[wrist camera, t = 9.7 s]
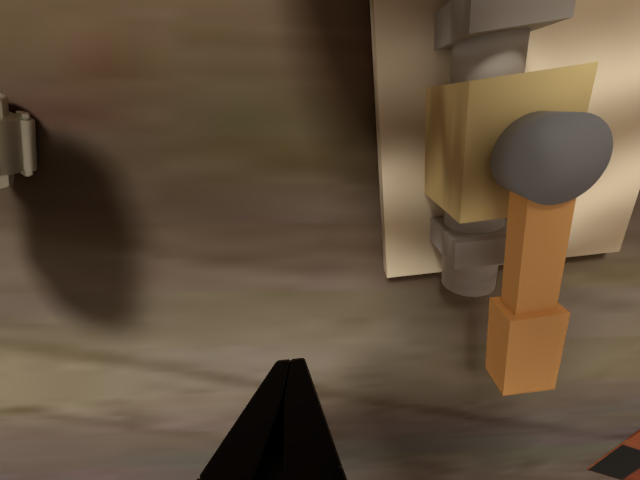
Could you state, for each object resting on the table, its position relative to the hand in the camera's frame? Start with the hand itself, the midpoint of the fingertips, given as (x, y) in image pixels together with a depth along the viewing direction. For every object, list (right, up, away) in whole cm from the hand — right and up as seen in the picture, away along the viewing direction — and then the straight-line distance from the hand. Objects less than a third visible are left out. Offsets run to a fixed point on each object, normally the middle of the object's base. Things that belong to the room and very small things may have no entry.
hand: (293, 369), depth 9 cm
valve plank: (+12, +11, +9) cm, 19 cm away
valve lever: (+10, +3, +5) cm, 12 cm away
